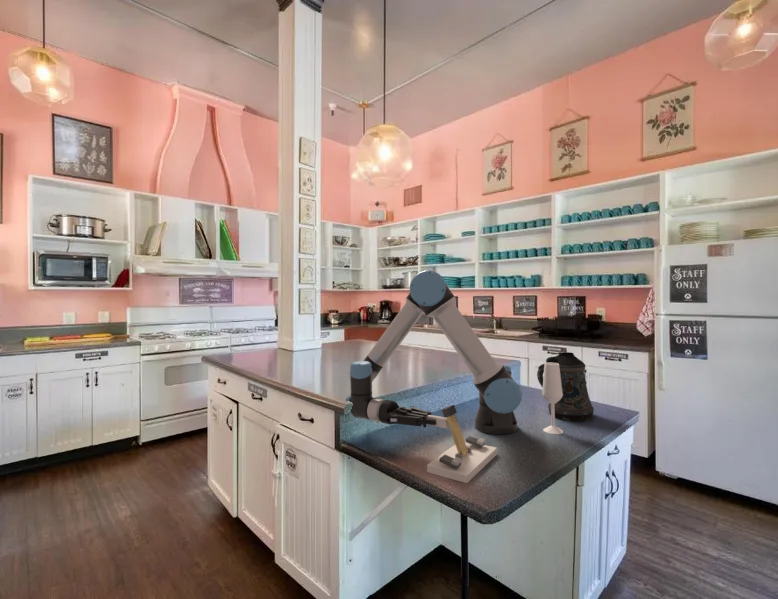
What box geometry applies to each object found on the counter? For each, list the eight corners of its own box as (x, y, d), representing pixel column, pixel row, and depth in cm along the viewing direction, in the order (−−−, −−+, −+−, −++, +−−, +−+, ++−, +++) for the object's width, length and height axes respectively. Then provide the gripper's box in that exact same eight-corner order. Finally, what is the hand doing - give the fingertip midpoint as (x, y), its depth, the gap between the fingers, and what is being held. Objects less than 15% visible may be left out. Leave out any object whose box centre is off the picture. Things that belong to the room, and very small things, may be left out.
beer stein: (603, 419, 148) (602, 354, 148) (560, 425, 143) (558, 357, 143) (573, 407, 164) (572, 349, 164) (533, 412, 159) (532, 351, 159)
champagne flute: (551, 435, 133) (550, 365, 133) (539, 428, 140) (537, 362, 140) (567, 432, 135) (566, 364, 135) (554, 426, 142) (553, 361, 141)
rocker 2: (469, 438, 123) (470, 433, 123) (484, 445, 120) (485, 439, 120) (465, 441, 120) (466, 436, 120) (480, 448, 117) (481, 442, 117)
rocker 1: (444, 457, 109) (445, 451, 109) (461, 465, 106) (462, 459, 106) (439, 461, 107) (440, 455, 106) (456, 469, 104) (457, 463, 103)
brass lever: (464, 453, 115) (448, 406, 118) (470, 452, 114) (454, 404, 117) (458, 458, 112) (441, 409, 115) (463, 457, 111) (447, 408, 114)
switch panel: (461, 446, 126) (460, 435, 126) (497, 454, 119) (496, 442, 119) (427, 472, 108) (426, 459, 108) (467, 483, 101) (466, 469, 101)
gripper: (395, 417, 135) (457, 429, 121) (372, 427, 124) (436, 442, 110) (394, 395, 135) (456, 405, 121) (371, 404, 124) (436, 416, 110)
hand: (447, 423), depth 116 cm, fingers closed
